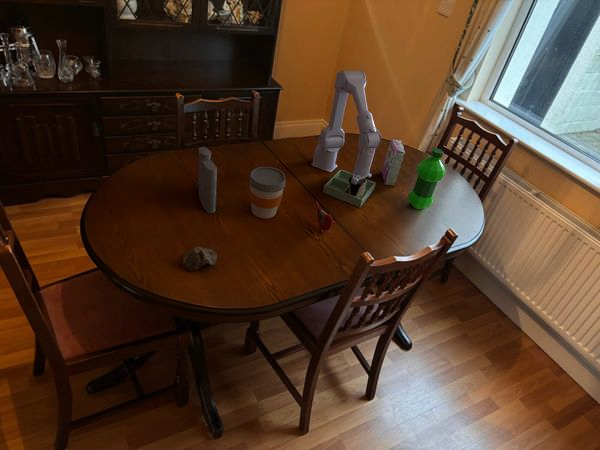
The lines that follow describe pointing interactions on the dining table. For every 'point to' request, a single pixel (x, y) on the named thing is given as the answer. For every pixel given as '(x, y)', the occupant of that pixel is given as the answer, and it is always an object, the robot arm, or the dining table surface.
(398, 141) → the candy bar box
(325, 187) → the green divided tray
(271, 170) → the reusable coffee cup
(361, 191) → the paper cup
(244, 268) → the dining table surface
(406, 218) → the dining table surface
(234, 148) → the dining table surface
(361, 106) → the robot arm
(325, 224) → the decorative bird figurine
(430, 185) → the plastic bottle
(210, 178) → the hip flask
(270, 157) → the dining table surface
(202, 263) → the grey lumpy rock
